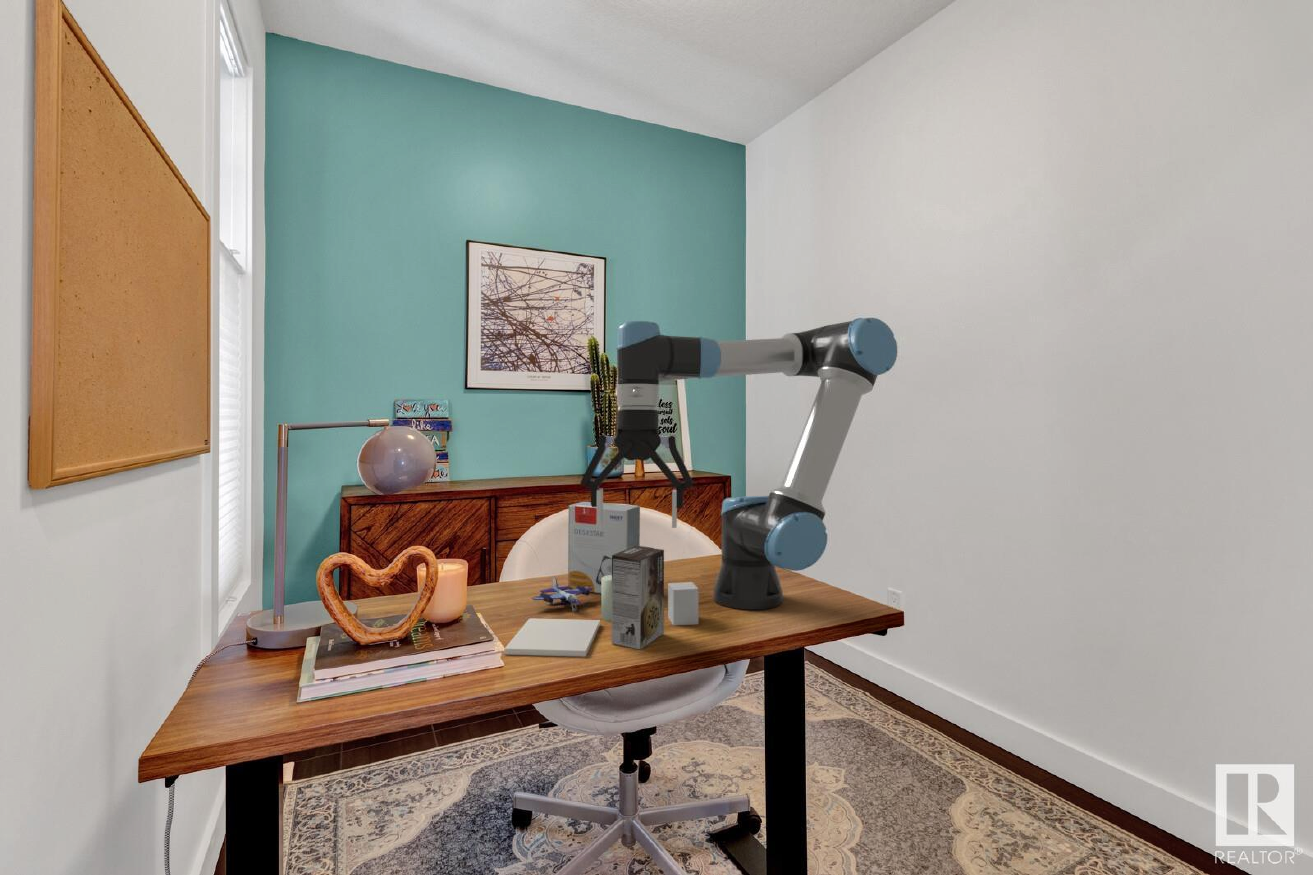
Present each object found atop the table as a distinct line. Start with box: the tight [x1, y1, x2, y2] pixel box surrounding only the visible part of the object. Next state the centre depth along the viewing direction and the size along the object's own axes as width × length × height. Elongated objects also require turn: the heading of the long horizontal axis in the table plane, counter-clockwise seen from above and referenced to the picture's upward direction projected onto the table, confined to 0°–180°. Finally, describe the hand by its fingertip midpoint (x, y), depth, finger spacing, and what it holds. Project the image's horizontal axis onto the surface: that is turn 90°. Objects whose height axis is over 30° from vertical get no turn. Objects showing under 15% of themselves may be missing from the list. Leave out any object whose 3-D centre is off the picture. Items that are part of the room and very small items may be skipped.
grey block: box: [667, 581, 699, 626], centre depth 126 cm, size 5×5×7 cm
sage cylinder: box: [600, 575, 612, 622], centre depth 127 cm, size 5×5×8 cm
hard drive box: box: [567, 501, 641, 594], centre depth 147 cm, size 16×8×20 cm, turn 67°
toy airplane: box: [531, 577, 592, 613], centre depth 134 cm, size 13×14×4 cm
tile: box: [504, 618, 601, 658], centre depth 115 cm, size 14×16×1 cm
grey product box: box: [610, 545, 665, 650], centre depth 115 cm, size 9×6×16 cm
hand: (636, 526), depth 114 cm, fingers open, 13 cm apart
